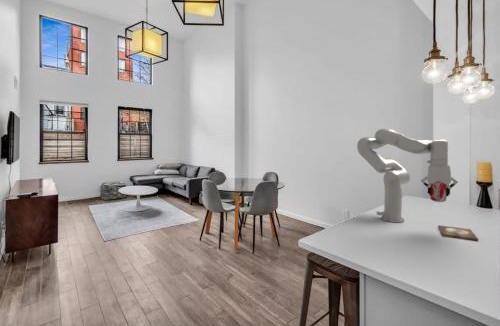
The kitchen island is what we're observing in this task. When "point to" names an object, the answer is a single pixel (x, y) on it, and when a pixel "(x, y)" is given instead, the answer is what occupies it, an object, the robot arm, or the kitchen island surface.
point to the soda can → (438, 191)
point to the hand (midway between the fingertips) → (438, 195)
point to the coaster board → (457, 233)
